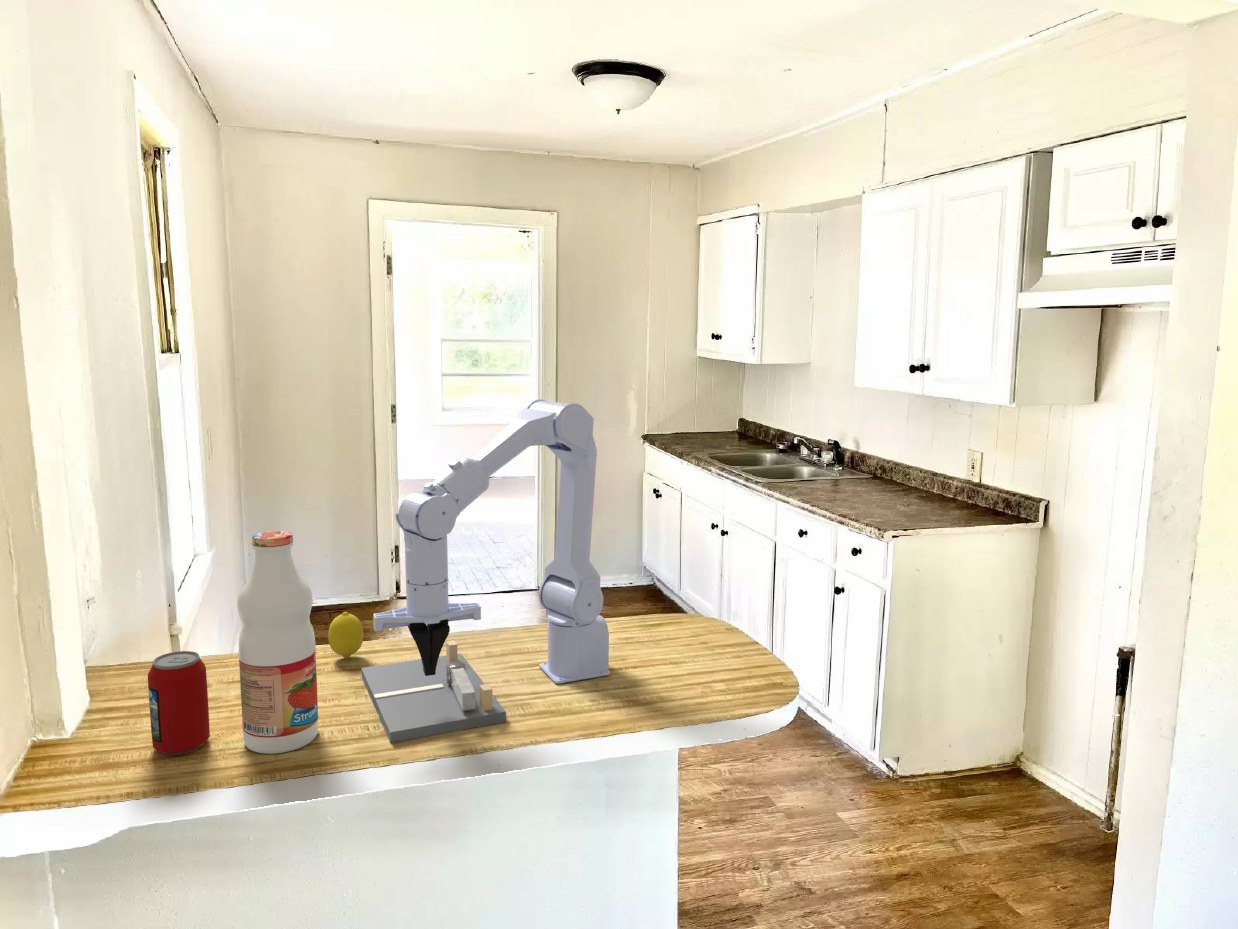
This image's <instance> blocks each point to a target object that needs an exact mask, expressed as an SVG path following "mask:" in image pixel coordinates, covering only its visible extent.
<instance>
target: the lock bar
mask: <svg viewBox="0 0 1238 929" xmlns="http://www.w3.org/2000/svg"><path fill="white" fill-rule="evenodd" d="M446 682H447V683H448V684H450V685H451V686H452V688H453V690H454V692H455V695H456V697H457V699H458V701H459V704H460V706H461V708H462V710H463V711H464V710H472V709H475V690H474V688H473V686H472V684H471V682H470V680H469V678H468V676H467V674H466V672H465V664H464V663H462V662H451V663H449V664H447V665H446Z"/></svg>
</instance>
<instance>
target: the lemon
mask: <svg viewBox="0 0 1238 929" xmlns="http://www.w3.org/2000/svg"><path fill="white" fill-rule="evenodd" d="M363 629H364V628H363V625H362V623H361V621H360V619H359V618H358V617H357V616H355V615H353V614H351V613H348V611H343V612H342V614H339V615H337V616H336V617H334V619H333V620H332V622H330V625H329V628H328V633H327V634H328V637H327V638H328V644H329V647H330V648H331V650H332V651H333V652H334V653H335V654H336V655H338V656H341V657H343V658H344V659H349V658H350V657H351V656H352V655H354V654H355V653H357V652H358V651H359V650H360V648H361V647H362V645H363V642H364V630H363Z"/></svg>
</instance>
